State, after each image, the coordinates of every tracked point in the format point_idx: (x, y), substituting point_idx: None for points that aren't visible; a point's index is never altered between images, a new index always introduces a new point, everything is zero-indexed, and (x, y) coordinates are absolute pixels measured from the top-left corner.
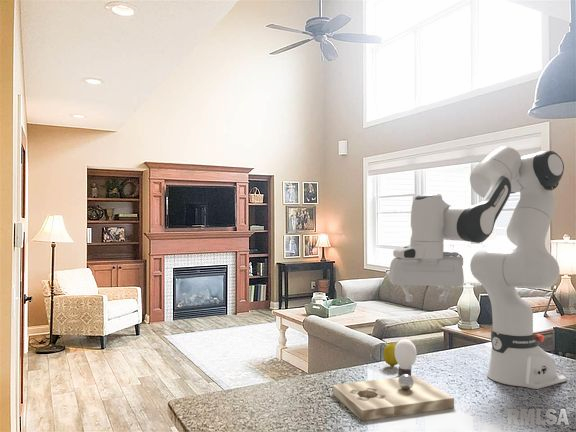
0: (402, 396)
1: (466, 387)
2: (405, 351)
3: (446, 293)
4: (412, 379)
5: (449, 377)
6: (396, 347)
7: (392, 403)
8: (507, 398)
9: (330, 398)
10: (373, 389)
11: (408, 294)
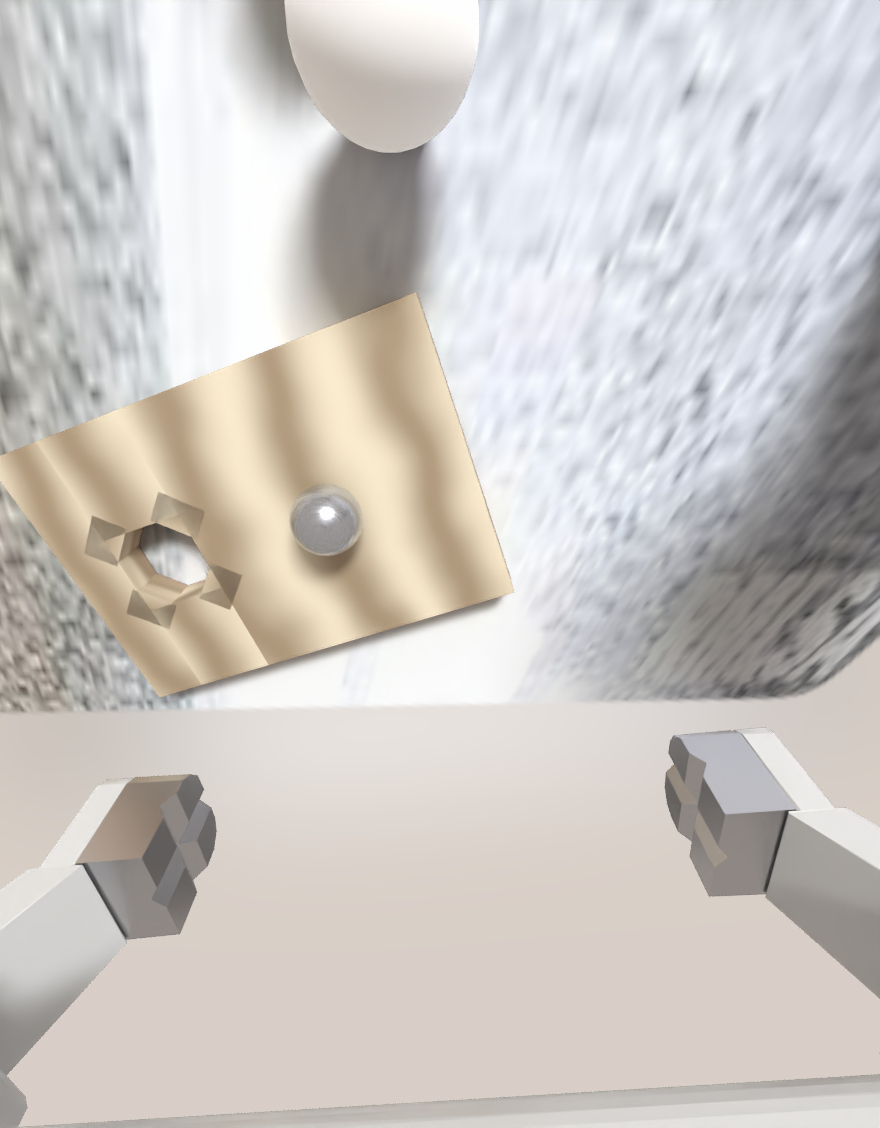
0: (308, 584)
1: (676, 338)
2: (364, 131)
3: (835, 946)
4: (353, 539)
5: (666, 150)
6: (291, 33)
7: (263, 645)
8: (782, 478)
9: None
10: (186, 513)
11: (87, 966)
